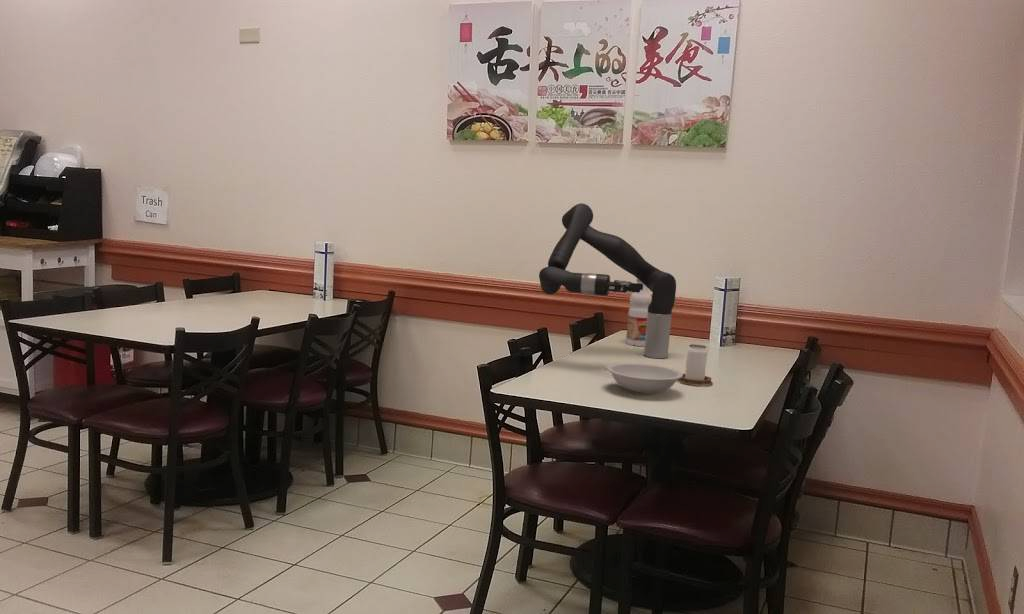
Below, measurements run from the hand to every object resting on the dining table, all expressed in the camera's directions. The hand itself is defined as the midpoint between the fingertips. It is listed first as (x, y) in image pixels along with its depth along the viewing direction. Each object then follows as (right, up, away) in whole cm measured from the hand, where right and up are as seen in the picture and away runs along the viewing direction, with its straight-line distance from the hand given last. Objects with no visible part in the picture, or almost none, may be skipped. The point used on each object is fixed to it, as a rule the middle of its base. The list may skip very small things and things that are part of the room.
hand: (641, 288), depth 291 cm
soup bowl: (-3, -34, -23) cm, 41 cm away
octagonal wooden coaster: (+17, -32, -6) cm, 37 cm away
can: (+17, -32, -6) cm, 37 cm away
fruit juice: (+8, -23, +62) cm, 67 cm away
